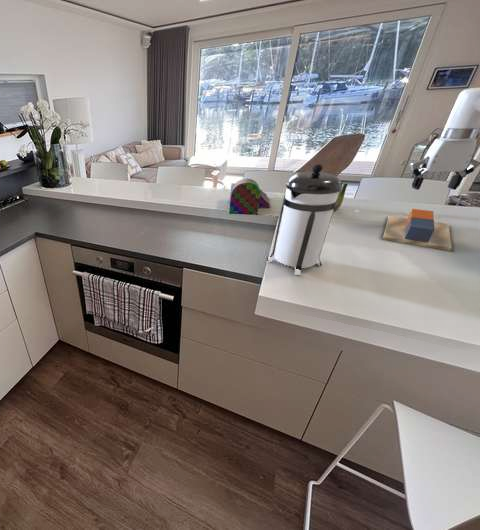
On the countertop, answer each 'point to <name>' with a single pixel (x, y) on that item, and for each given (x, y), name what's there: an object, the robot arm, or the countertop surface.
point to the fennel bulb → (340, 196)
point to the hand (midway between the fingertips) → (433, 188)
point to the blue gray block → (419, 229)
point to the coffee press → (305, 217)
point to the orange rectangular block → (420, 215)
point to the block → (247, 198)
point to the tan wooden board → (397, 233)
